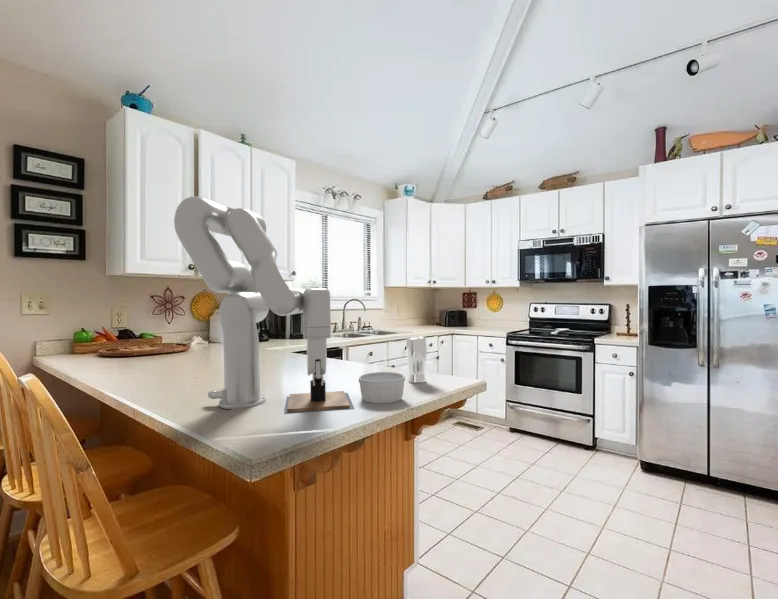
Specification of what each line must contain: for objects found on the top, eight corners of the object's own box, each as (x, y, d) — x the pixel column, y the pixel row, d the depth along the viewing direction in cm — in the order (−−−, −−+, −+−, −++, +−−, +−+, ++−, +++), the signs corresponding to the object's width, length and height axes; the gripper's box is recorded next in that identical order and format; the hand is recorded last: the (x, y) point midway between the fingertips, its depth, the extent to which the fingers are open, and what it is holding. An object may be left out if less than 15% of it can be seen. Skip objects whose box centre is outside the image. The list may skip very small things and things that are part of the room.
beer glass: (427, 383, 141) (427, 338, 141) (406, 383, 141) (406, 339, 141) (426, 379, 148) (425, 336, 148) (406, 379, 148) (405, 337, 148)
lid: (287, 412, 108) (287, 389, 108) (289, 396, 124) (289, 377, 123) (349, 408, 111) (349, 386, 111) (344, 393, 127) (343, 374, 127)
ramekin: (367, 408, 112) (366, 382, 112) (353, 397, 125) (353, 374, 124) (412, 403, 117) (412, 378, 117) (394, 392, 129) (394, 370, 129)
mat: (283, 415, 107) (283, 413, 107) (286, 398, 124) (286, 396, 124) (354, 410, 110) (354, 408, 110) (347, 394, 128) (347, 392, 128)
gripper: (303, 330, 124) (304, 392, 125) (303, 336, 108) (304, 407, 108) (328, 329, 126) (329, 390, 126) (332, 335, 109) (333, 405, 110)
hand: (317, 397), depth 117 cm, fingers closed on lid, 4 cm apart
